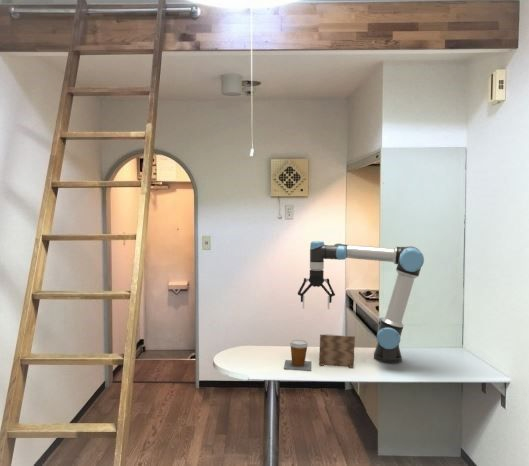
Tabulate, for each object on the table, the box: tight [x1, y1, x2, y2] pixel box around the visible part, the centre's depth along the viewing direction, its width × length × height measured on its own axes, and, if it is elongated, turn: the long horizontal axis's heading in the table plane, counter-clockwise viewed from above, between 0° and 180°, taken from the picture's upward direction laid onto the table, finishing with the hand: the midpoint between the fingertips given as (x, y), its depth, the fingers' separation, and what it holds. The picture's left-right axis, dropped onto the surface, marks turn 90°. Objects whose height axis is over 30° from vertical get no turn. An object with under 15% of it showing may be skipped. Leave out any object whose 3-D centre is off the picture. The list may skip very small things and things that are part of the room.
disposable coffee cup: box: [289, 339, 309, 367], centre depth 254 cm, size 10×10×12 cm
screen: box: [318, 334, 356, 369], centre depth 256 cm, size 18×5×16 cm, turn 84°
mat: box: [283, 359, 312, 372], centre depth 254 cm, size 14×14×1 cm
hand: (315, 308), depth 266 cm, fingers open, 13 cm apart
